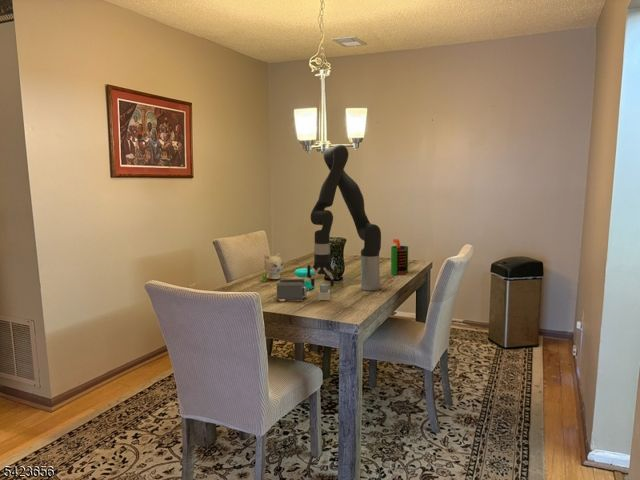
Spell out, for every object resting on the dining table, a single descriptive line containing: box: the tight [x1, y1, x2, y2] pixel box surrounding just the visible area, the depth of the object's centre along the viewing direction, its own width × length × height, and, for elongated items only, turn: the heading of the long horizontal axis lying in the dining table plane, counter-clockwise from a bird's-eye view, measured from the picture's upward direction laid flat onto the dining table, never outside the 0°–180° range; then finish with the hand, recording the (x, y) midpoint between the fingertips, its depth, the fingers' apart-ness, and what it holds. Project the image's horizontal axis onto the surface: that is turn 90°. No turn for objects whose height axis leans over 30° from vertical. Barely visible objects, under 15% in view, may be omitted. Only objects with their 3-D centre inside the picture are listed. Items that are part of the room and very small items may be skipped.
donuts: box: [293, 267, 315, 291], centre depth 239 cm, size 10×10×10 cm
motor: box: [390, 238, 409, 276], centre depth 267 cm, size 10×9×20 cm
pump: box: [317, 283, 331, 301], centre depth 218 cm, size 5×5×7 cm
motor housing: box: [276, 278, 308, 300], centre depth 221 cm, size 13×10×8 cm
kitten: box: [261, 252, 285, 281], centre depth 261 cm, size 15×10×15 cm, turn 129°
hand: (322, 286), depth 218 cm, fingers open, 8 cm apart
